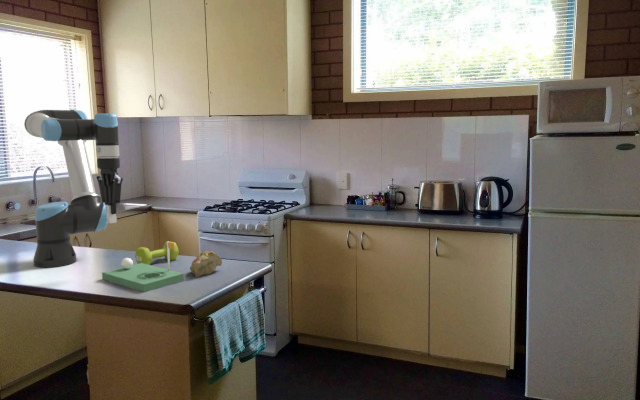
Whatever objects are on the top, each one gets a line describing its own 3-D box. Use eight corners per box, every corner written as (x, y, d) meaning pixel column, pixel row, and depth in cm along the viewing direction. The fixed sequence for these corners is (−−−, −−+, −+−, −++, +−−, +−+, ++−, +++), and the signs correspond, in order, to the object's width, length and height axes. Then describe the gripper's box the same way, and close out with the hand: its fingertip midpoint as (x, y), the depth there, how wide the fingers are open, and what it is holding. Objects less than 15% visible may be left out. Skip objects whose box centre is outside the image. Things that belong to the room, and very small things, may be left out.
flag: (167, 277, 192) (166, 241, 191) (169, 277, 193) (168, 241, 191) (174, 279, 190) (172, 242, 188) (176, 278, 191) (174, 242, 189)
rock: (202, 288, 196) (195, 268, 190) (186, 280, 200) (178, 260, 195) (225, 268, 203) (219, 248, 197) (209, 261, 208) (202, 241, 202)
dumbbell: (145, 268, 205) (144, 250, 204) (133, 265, 210) (132, 247, 209) (181, 260, 217) (180, 242, 216) (169, 257, 222) (168, 239, 221)
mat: (102, 279, 190) (102, 272, 190) (141, 269, 203) (141, 262, 203) (144, 292, 176) (143, 284, 176) (183, 280, 189) (183, 273, 189)
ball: (119, 269, 194) (118, 258, 194) (129, 266, 197) (128, 256, 197) (125, 271, 192) (125, 259, 191) (135, 268, 195) (135, 257, 194)
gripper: (88, 157, 195) (92, 222, 198) (109, 158, 187) (113, 226, 190) (107, 156, 201) (110, 219, 204) (128, 157, 193) (132, 223, 196)
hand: (112, 222), depth 197 cm, fingers closed
